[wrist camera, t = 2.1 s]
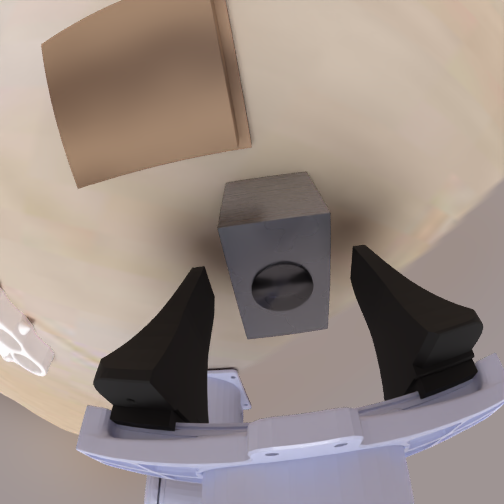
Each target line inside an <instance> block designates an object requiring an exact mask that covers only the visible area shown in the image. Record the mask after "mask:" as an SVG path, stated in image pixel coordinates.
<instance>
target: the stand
mask: <svg viewBox="0 0 504 504" xmlns="http://www.w3.org/2000/svg"><path fill="white" fill-rule="evenodd" d="M41 47H42V54H43V61H44V67H45V73H46V78H47V84H48V88H49V93H50V98H51V102H52V106H53V110H54V114H55V118H56V122H57V126H58V129H59V133H60V136H61V140H62V143H63V146H64V149H65V153H66V156H67V159H68V162H69V165H70V168H71V171H72V173H73V176H74V179H75V182H76V184H77V187H78V189H79V188H82V187H85V186H88V185H91V184H95V183H98V182H101V181H105V180H108V179H111V178H115V177H118V176H122V175H125V174H129V173H132V172H136V171H140V170H143V169H147V168H151V167H155V166H159V165H163V164H168V163H172V162H176V161H181V160H185V159H190V158H195V157H200V156H205V155H210V154H215V153H221V152H226V151H232V150H238V149H244V148H251V138H250V132H249V126H248V120H247V115H246V109H245V103H244V97H243V92H242V86H241V81H240V75H239V69H238V64H237V58H236V53H235V48H234V42H233V37H232V32H231V27H230V21H229V16H228V11H227V6H226V1H225V0H121V1H119V2H117V3H114V4H112V5H110V6H108V7H106V8H103V9H101V10H99V11H97V12H95V13H93V14H91V15H89V16H87V17H86V18H84V19H82V20H80V21H78V22H76V23H75V24H73V25H71V26H69V27H68V28H66V29H64V30H63V31H61V32H59V33H58V34H56V35H55V36H53V37H52V38H50V39H49V40H47V41H46V42H44V43H43V44H41Z"/></svg>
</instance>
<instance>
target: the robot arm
mask: <svg viewBox="0 0 504 504" xmlns="http://www.w3.org/2000/svg"><path fill="white" fill-rule="evenodd" d="M350 279H351V283H352V286H353V290H354V293H355V296H356V299H357V301H358V304H359V306H360V308H361V311H362V313H363V315H364V318H365V320H366V323H367V325H368V328H369V330H370V333H371V336H372V339H373V343H374V346H375V351H376V354H377V359H378V364H379V368H380V374H381V379H382V385H383V392H384V400H385V401H383V402H379V403H376V404H371V405H367V406H363V407H359V408H349V407H343V408H333V409H329V410H322V411H316V412H309V413H302V414H294V415H286V416H276V417H268V418H262V419H258V420H256V421H254V422H249V423H243V410H245V409H246V410H247V409H251V403H250V401H249V399H248V396H247V394H246V392H245V389H244V387H243V384H242V382H241V380H240V377H239V374H238V372H237V371H236V370H234V369H229V370H211V371H208V352H209V346H210V339H211V332H212V326H213V319H214V298H215V297H214V294H213V291H212V288H211V285H210V282H209V279H208V276H207V273H206V270H205V266H203V267H195V268H192V269H191V271H190V272H189V273H188V275H187V276H186V278H185V279H184V281H183V282H182V283H181V285H180V286H179V288H178V289H177V290H176V292H175V293H174V295H173V296H172V297H171V299H170V300H169V301H168V302H167V304H166V305H165V306H164V307H163V309H162V310H161V311H160V312H159V313H158V314H157V315H156V317H155V318H154V319H153V320H152V321H151V322H150V323H149V324H148V325H147V326H145V327H144V328H143V329H142V330H141V331H140V332H139V333H138V334H137V335H135V336H134V337H133V338H132V339H130V340H129V341H128V342H127V343H125V344H124V345H122V346H121V347H120V348H118V349H117V350H115V351H114V352H112V353H110V354H109V355H107V356H106V357H104V358H102V359H101V361H100V364H99V366H98V369H97V372H96V375H95V378H94V381H93V385H94V387H95V388H96V390H97V391H98V392H99V393H100V394H101V395H102V396H103V397H104V398H106V399H107V400H108V401H109V402H110V403H111V404H113V408H112V411H111V410H109V409H106V408H102V407H96V406H91V405H88V406H87V408H86V411H85V415H84V418H83V422H82V426H81V430H80V434H79V438H78V442H77V446H76V449H77V451H79V452H81V453H83V454H85V455H87V456H89V457H91V458H93V459H95V460H97V461H99V462H101V463H103V464H105V465H108V466H112V467H116V468H120V469H124V470H128V471H132V472H137V473H141V474H145V475H147V480H146V489H145V501H144V504H414V498H413V493H412V487H411V482H410V476H409V472H408V467H407V462H406V457H408V456H411V455H413V454H415V453H418V452H421V451H423V450H425V449H428V448H430V447H432V446H434V445H436V444H439V443H441V442H443V441H445V440H447V439H449V438H451V437H453V436H455V435H457V434H458V433H461V432H463V431H464V430H466V429H468V428H470V427H472V426H474V425H475V424H477V423H479V422H481V421H483V420H484V419H486V418H488V417H489V416H490V415H491V414H493V413H494V412H495V411H496V410H497V409H499V408H500V407H501V406H502V405H503V404H504V369H503V366H502V364H501V362H500V360H499V358H498V356H497V354H496V353H493V354H491V355H488V356H487V357H484V358H482V359H480V360H479V361H477V362H476V363H475V364H474V362H473V360H472V358H473V357H474V353H473V351H472V348H473V347H474V345H475V344H476V342H477V341H478V339H479V337H480V335H481V333H482V330H483V324H482V322H481V320H480V319H479V317H478V315H477V314H476V312H475V311H474V310H473V309H470V308H467V307H464V306H461V305H457V304H455V303H452V302H450V301H447V300H445V299H443V298H441V297H438V296H436V295H434V294H433V293H430V292H429V291H427V290H425V289H423V288H421V287H420V286H418V285H417V284H415V283H413V282H412V281H410V280H409V279H407V278H406V277H404V276H403V275H402V274H400V273H399V272H398V271H396V270H395V269H394V268H392V267H391V266H390V265H389V264H387V263H386V262H385V261H384V260H382V259H381V258H380V257H379V256H378V255H376V254H375V253H374V252H373V251H372V250H370V249H369V248H368V247H367V246H365V245H359V246H353V251H352V265H351V277H350Z"/></svg>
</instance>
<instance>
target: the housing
mask: <svg viewBox="0 0 504 504" xmlns="http://www.w3.org/2000/svg"><path fill="white" fill-rule="evenodd" d="M218 232H219V236H220V240H221V244H222V248H223V252H224V256H225V259H226V263H227V267H228V271H229V274H230V278H231V282H232V286H233V289H234V293H235V297H236V300H237V304H238V308H239V311H240V315H241V318H242V322H243V326H244V329H245V333H246V336H247V339H255V338H264V337H273V336H281V335H288V334H296V333H303V332H309V331H316V330H322V329H327V328H328V315H329V293H330V253H331V226H330V211H329V209H328V208H327V206H326V204H325V202H324V200H323V199H322V197H321V195H320V193H319V192H318V190H317V188H316V186H315V185H314V183H313V181H312V180H311V178H310V176H309V175H308V173H307V172H299V173H291V174H283V175H275V176H268V177H261V178H254V179H247V180H241V181H234V182H228V183H226V185H225V190H224V195H223V201H222V206H221V212H220V217H219V223H218Z"/></svg>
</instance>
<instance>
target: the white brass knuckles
mask: <svg viewBox="0 0 504 504" xmlns="http://www.w3.org/2000/svg"><path fill="white" fill-rule="evenodd" d="M0 355H1V356H2V357H3V359H4V360H5V361H7V362H11V361H13V362H15V363H17V364H19V365H20V366H22V367H23V368H25V369H26V370H28V371H29V372H31V373H33V374H36V375H39V376H45V375H46V374H47V372H48V369H49V367H50V364H51V362H52V360H53V358H54V352H53V350H52V348H51V347H50V346H49V345H48V344H46V343H45V342H44V341H43V340H42V339H41V338H40V337H39V336H38V334H37V333H36V331H35V329H34V327H33V325H32V324H31V322H30V321H29V320H28V318H27V317H26V316H25V314H24V313H23V312H21V311H20V310H19V309H18V308H17V307H16V306H15V305H14V304H13V303H12V302H11V301H10V300H9V298H8V297H7V295H6V293H5V291H4V290H3V289H2V288H1V287H0Z"/></svg>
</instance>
